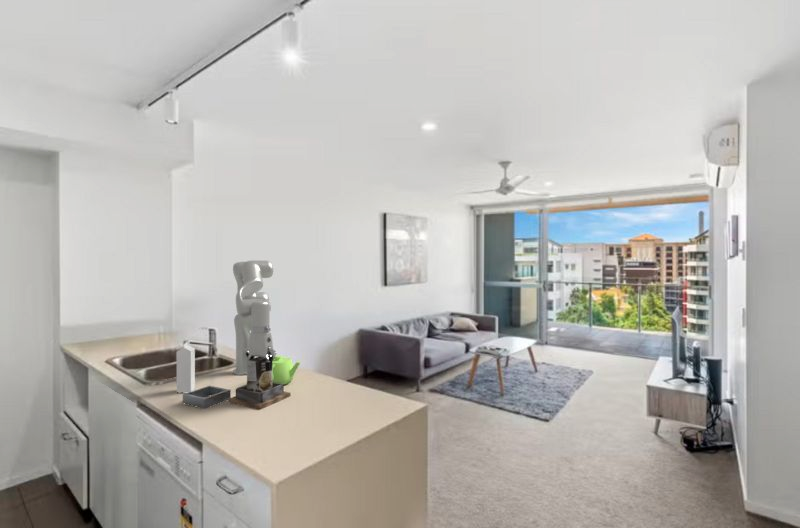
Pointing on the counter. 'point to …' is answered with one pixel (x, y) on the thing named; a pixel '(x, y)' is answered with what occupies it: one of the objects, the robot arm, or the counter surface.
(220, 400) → the grey square frame
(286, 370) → the teapot
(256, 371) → the coffee box
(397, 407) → the counter surface
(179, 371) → the milk
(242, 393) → the dock
